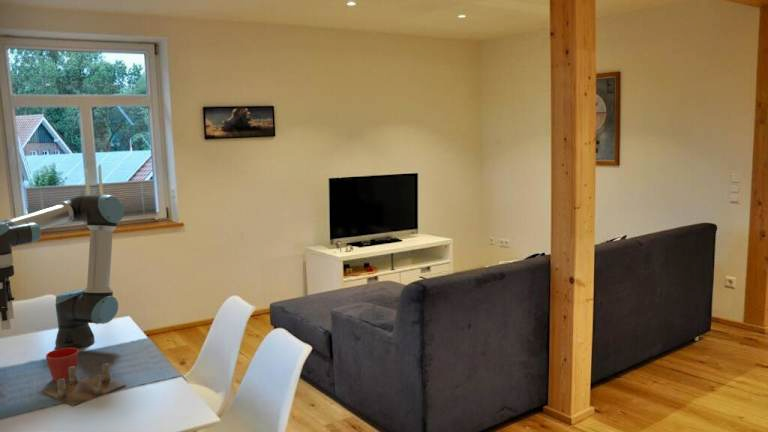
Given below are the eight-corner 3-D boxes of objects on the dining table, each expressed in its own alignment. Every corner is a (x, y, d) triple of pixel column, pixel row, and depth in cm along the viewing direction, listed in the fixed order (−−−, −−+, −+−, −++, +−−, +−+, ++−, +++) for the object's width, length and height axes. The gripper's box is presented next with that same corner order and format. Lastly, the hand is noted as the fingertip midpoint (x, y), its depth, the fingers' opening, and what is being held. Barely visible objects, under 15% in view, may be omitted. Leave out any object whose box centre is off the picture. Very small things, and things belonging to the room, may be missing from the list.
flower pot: (87, 374, 232) (85, 349, 230) (61, 385, 222) (58, 359, 220) (68, 370, 236) (65, 345, 235) (41, 381, 226) (39, 355, 225)
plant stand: (96, 375, 230) (95, 358, 229) (125, 386, 219) (124, 368, 218) (44, 393, 215) (42, 375, 214) (72, 406, 204) (70, 387, 203)
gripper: (-8, 260, 228) (-1, 316, 231) (-17, 274, 205) (-9, 335, 208) (16, 258, 231) (22, 313, 234) (9, 271, 209) (17, 331, 212)
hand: (8, 323), depth 221 cm, fingers open, 13 cm apart
